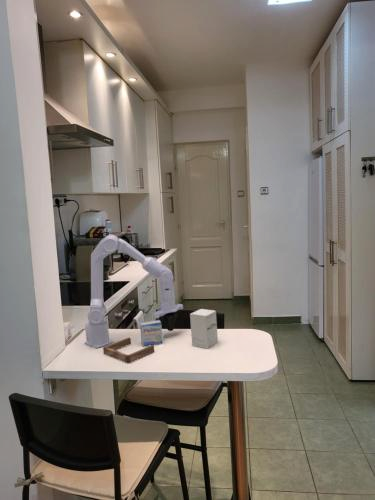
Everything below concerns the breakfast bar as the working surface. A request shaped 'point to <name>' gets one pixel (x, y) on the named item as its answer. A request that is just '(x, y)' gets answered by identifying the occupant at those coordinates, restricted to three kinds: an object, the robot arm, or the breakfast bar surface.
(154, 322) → the medicine box
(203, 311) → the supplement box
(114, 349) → the walnut bay
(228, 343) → the breakfast bar surface
